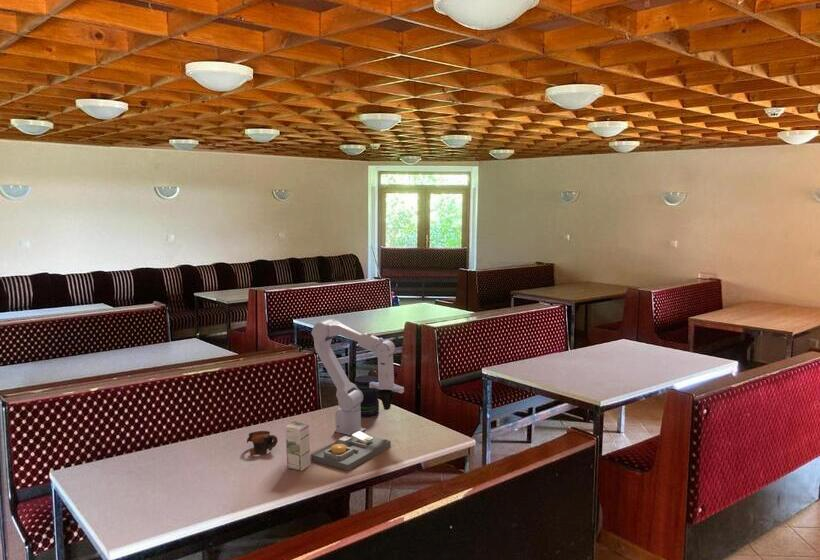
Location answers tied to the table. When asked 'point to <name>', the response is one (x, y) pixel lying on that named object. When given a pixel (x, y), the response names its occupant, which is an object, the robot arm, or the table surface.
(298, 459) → the syrup box
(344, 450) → the push button
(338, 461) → the control panel
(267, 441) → the pottery mug
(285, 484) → the table surface
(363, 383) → the storage jar
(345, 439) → the pale beige block
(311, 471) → the table surface
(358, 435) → the plate
